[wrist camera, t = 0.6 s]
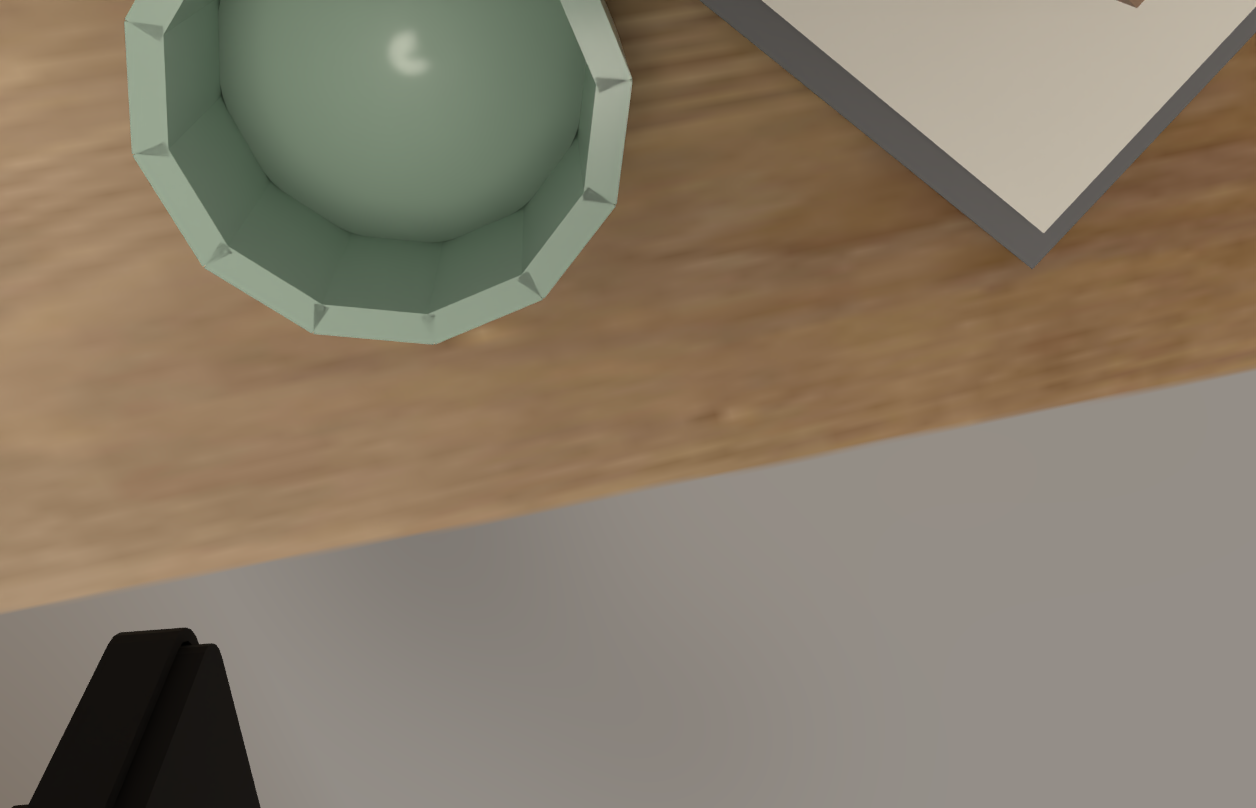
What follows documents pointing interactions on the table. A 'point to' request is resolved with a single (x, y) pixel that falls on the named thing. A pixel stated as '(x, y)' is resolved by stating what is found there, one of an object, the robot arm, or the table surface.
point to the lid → (1022, 77)
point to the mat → (927, 160)
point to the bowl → (381, 150)
